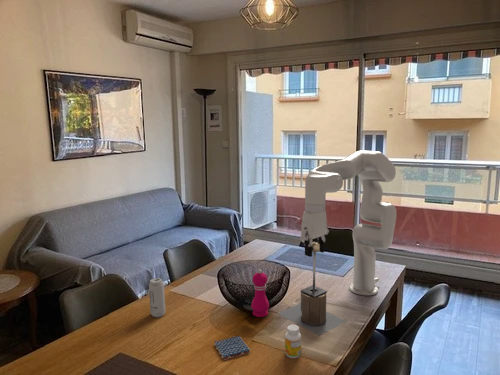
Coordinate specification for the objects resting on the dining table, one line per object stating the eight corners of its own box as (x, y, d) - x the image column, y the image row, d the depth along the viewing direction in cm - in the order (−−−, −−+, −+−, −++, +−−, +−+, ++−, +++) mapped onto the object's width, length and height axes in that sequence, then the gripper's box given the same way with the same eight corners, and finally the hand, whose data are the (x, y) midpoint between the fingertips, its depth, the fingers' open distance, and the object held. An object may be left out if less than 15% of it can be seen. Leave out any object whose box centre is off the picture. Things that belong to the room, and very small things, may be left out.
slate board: (304, 303, 168) (304, 301, 168) (346, 323, 152) (346, 320, 152) (277, 316, 158) (277, 313, 158) (319, 338, 142) (319, 335, 141)
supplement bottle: (283, 349, 135) (283, 323, 134) (299, 348, 136) (299, 323, 134) (286, 359, 130) (286, 332, 128) (302, 358, 130) (302, 331, 129)
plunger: (312, 288, 156) (313, 239, 152) (327, 294, 150) (328, 243, 147) (300, 293, 151) (301, 243, 148) (314, 300, 146) (315, 247, 142)
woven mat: (223, 362, 129) (223, 357, 129) (213, 346, 139) (212, 341, 139) (251, 354, 133) (251, 349, 133) (240, 339, 143) (239, 334, 143)
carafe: (309, 310, 160) (310, 282, 158) (331, 320, 152) (332, 291, 150) (293, 318, 154) (293, 289, 152) (314, 329, 146) (315, 298, 144)
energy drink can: (147, 314, 161) (145, 280, 158) (160, 309, 165) (158, 276, 163) (156, 319, 157) (154, 284, 154) (168, 314, 161) (166, 280, 159)
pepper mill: (267, 320, 155) (267, 273, 151) (249, 319, 156) (249, 272, 153) (270, 312, 162) (270, 266, 158) (253, 310, 163) (252, 265, 160)
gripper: (322, 202, 153) (321, 246, 156) (291, 209, 142) (291, 256, 145) (337, 205, 148) (336, 251, 151) (307, 213, 137) (306, 261, 140)
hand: (314, 253), depth 148 cm, fingers open, 6 cm apart
